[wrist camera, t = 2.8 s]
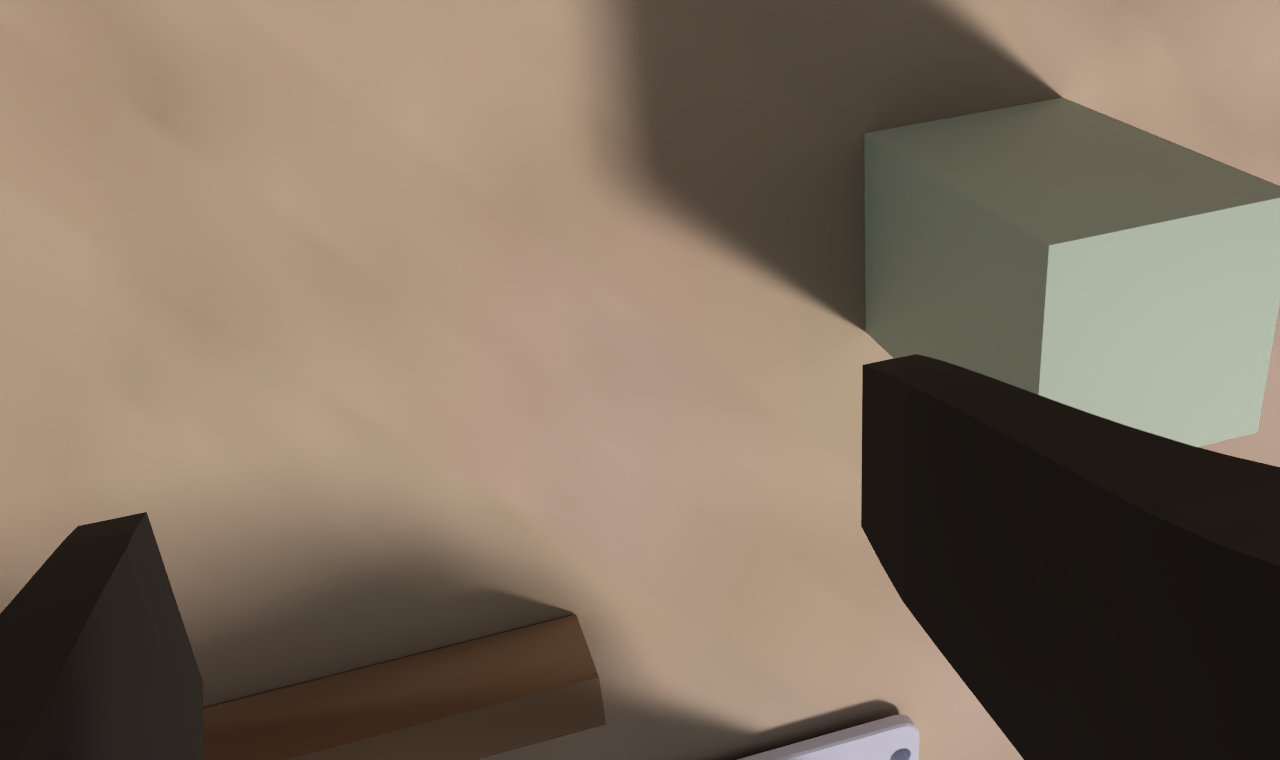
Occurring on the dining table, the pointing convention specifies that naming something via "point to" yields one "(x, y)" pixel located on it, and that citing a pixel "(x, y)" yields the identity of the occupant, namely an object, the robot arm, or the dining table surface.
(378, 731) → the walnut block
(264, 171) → the dining table surface
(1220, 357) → the sage block
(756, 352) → the dining table surface
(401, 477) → the dining table surface
